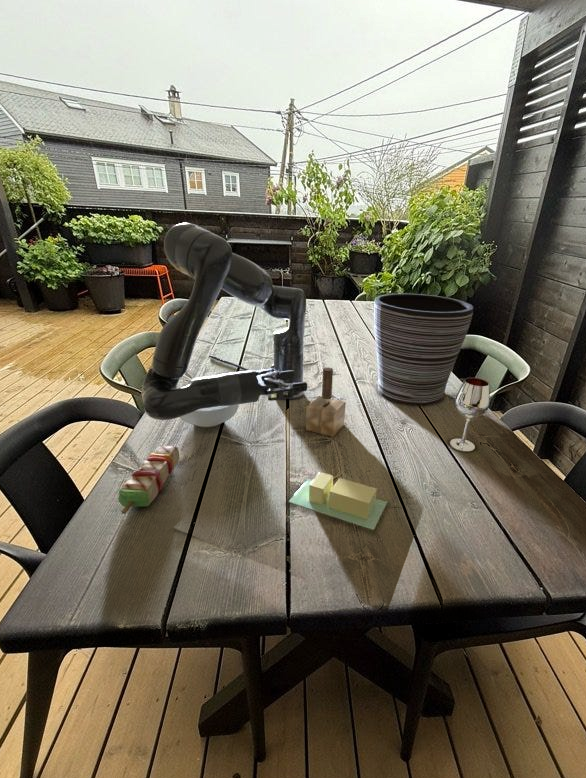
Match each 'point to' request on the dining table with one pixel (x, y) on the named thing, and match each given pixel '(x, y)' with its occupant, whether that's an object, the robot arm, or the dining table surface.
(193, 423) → the cereal bowl
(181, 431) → the dining table surface
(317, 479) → the butter slice
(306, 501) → the butter dish
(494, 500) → the dining table surface
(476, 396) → the wineglass
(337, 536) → the dining table surface
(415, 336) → the planter pot
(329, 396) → the knife
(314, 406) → the knife block
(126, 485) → the skewer
